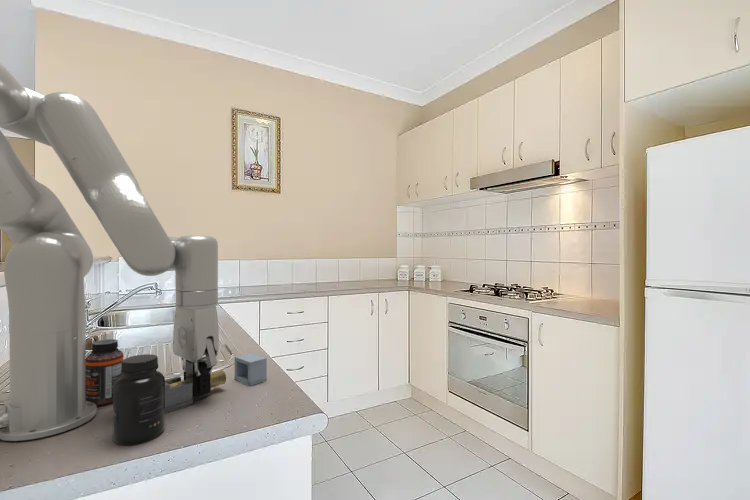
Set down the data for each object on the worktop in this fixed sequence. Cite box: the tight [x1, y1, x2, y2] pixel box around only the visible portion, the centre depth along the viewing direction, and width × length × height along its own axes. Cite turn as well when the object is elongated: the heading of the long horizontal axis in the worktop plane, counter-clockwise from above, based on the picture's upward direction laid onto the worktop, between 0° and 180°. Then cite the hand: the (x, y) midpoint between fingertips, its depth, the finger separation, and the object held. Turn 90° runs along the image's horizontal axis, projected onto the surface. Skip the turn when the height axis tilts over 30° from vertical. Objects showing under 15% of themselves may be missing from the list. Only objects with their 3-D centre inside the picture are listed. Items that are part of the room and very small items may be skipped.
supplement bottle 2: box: [112, 353, 166, 446], centre depth 58 cm, size 7×7×12 cm
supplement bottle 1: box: [86, 338, 125, 407], centre depth 71 cm, size 6×6×11 cm
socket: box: [234, 352, 268, 387], centre depth 82 cm, size 4×6×5 cm, turn 51°
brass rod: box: [170, 361, 227, 402], centre depth 71 cm, size 16×3×7 cm, turn 141°
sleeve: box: [165, 375, 194, 414], centre depth 67 cm, size 10×6×5 cm, turn 141°
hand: (197, 391), depth 73 cm, fingers closed on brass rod, 3 cm apart
